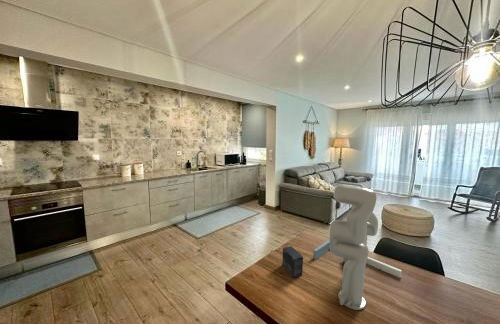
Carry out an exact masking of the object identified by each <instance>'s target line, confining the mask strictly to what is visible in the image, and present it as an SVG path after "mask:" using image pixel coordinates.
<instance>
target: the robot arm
mask: <svg viewBox="0 0 500 324" xmlns="http://www.w3.org/2000/svg"><path fill="white" fill-rule="evenodd" d="M333 196H334V197H333V198H334V200H335V201H336V202H337V203H339V204H345V205H351V210H350V211H349V212H348V213H347V215H346V220H342V219H341V220H340V219H334V220H333V221H331V223H330V225H329V239H330V250H329V251H330V254H332V255H334V256H336V257H338V258H342V259H343V258H345V259H348V261H347V262H346V263H345V262H344V264H343V269H342V271H343V273H342V284H341V286H342V287H341V290H339V292H338V293H337V294H338V295H337V296H338V300H339V304H340V305H341V306H343V305H344V306H345V307H347V308H348V309H352V310H355V311H357V310H358V311H360V310H363V309H365V307H366V305H367V304H366V299H365V298H364V297H363V295H364V285H365V274H366V266H367V264H366V262H367V258H368V257H369V252H370V251H369V248H368V245H367V244H368V242H367V241H368V236H369V237H374V236H376V235H377V234H378V231H379V221H378V217H377V216H376V215H375V213H374V210H375V207H376V202H377V193H376V192H375V191H374V190H372V189H370V188H366V187H359V186H353V185H345V184H338V185H337V186H336V187H335V188H334V192H333Z"/></svg>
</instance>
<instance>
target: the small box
mask: <svg viewBox="0 0 500 324" xmlns="http://www.w3.org/2000/svg"><path fill="white" fill-rule="evenodd" d="M281 265H282V267H283V268H284V269H285V270H286V272H288V274H289V275H290V276H291V277H292V278H297V277H299V276H300V277H301V276H303V270H304V268H303V266H304V256H303V255H302V254H301V253H299V251H298V250H297V249H295V248H294V247H293V246H291V245H290V246H287V247H282V264H281Z"/></svg>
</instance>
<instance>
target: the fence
mask: <svg viewBox="0 0 500 324" xmlns="http://www.w3.org/2000/svg"><path fill="white" fill-rule="evenodd" d="M328 251H330V238H329V239H328V240H326V241H325V242H323V243H322V244H320V245H319V246H318V247H316V248H314V249H313V253H312V254H313V255H312V258H313V259H314V260H318V259H319V258H320V257H321V256H323V255H324V254H326V253H327V252H328ZM366 265H369V266H371V267H373V266H374V268H376V269H378V270H380V269H381V270H380V271H382V272H385V273H388V274H390V275H392V276H395V277H397V278H401V277H402V271H403V270H402V269H399V268H397V267H394V266H392V265H390V264H387V263H385V262H382V261H380V260H378V259H375V258H372V257H370V256H368V258H367V262H366Z"/></svg>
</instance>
